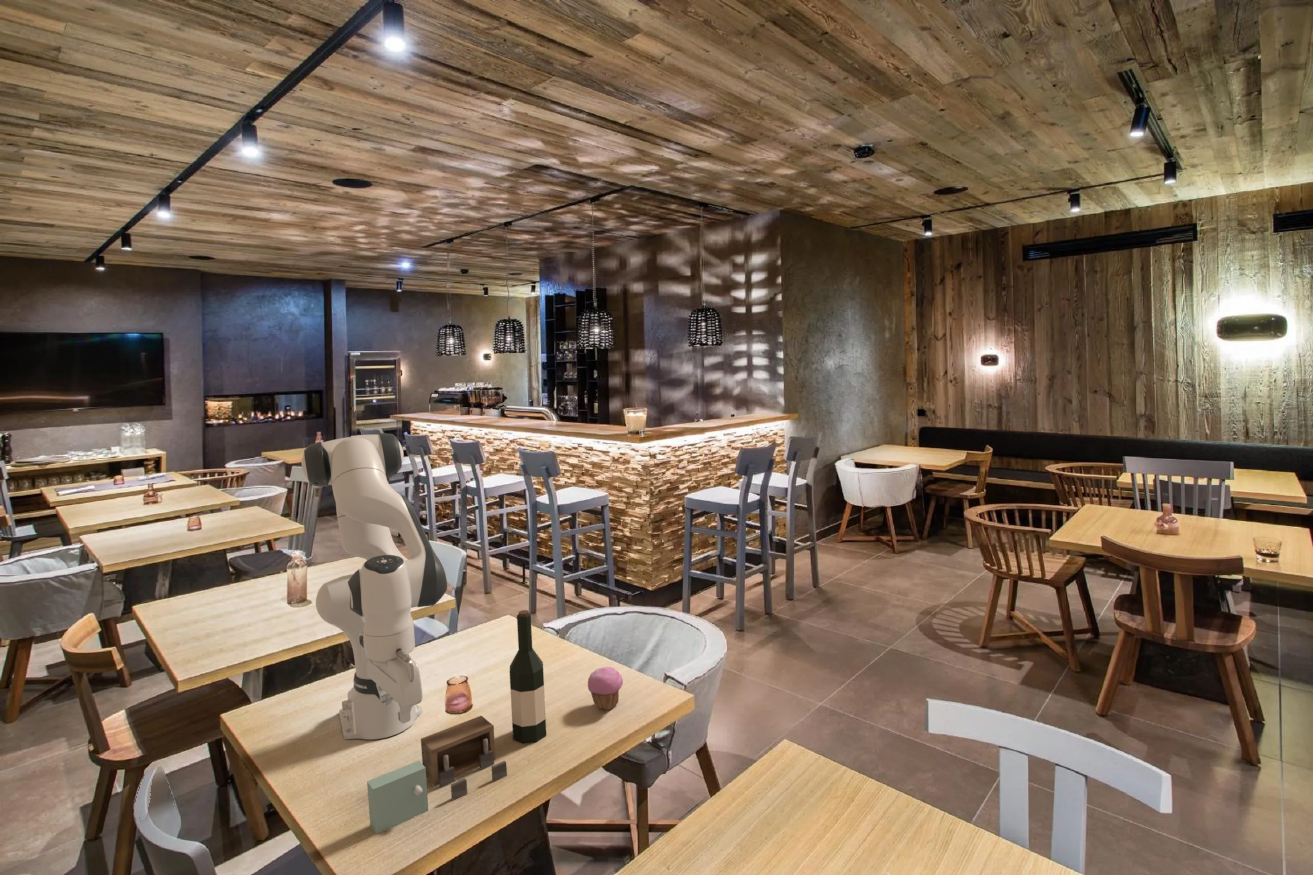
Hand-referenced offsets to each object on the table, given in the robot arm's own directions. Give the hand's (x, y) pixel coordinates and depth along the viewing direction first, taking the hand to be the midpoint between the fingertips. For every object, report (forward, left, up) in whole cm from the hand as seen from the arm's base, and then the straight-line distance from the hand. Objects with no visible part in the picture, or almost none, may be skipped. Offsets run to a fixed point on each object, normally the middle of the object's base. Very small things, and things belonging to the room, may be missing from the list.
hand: (395, 712), depth 128 cm
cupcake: (-7, +54, -22) cm, 59 cm away
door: (0, -1, -22) cm, 22 cm away
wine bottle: (-9, +33, -22) cm, 41 cm away
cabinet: (-5, +15, -21) cm, 27 cm away
